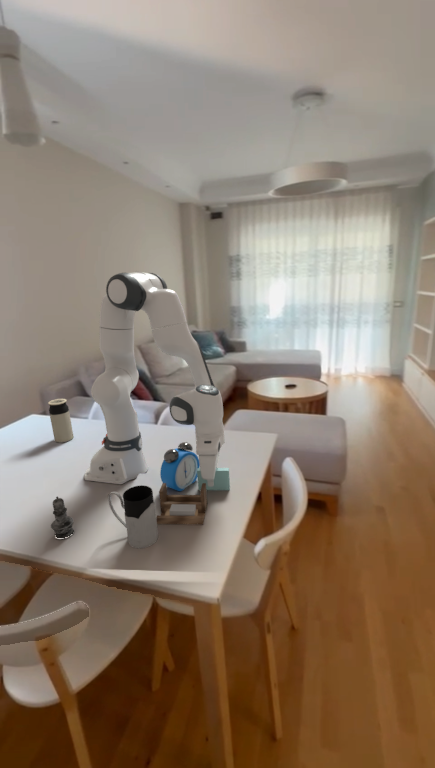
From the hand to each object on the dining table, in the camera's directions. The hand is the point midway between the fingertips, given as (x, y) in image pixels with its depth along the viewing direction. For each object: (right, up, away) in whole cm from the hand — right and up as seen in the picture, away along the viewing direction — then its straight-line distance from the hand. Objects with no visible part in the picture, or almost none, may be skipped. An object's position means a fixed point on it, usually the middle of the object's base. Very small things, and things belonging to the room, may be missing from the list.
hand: (212, 477), depth 120 cm
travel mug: (-67, +5, +49) cm, 84 cm away
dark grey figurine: (-41, -13, -14) cm, 46 cm away
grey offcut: (-8, -7, -13) cm, 17 cm away
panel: (+1, -5, +2) cm, 6 cm away
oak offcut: (-9, -8, -12) cm, 17 cm away
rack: (-8, -9, -10) cm, 16 cm away
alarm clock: (-10, -5, +6) cm, 13 cm away
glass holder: (-21, -13, -18) cm, 30 cm away
